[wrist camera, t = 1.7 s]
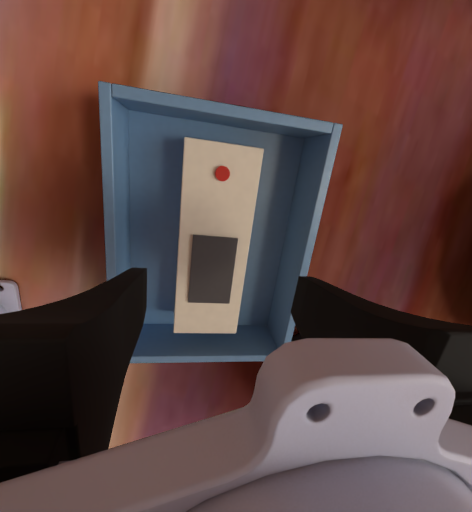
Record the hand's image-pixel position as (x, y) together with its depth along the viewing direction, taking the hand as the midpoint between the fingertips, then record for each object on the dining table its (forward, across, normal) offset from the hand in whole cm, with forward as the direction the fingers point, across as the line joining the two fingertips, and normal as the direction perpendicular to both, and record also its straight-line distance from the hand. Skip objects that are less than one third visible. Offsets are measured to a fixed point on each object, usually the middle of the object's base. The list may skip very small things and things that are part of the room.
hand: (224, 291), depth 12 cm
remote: (+9, 0, 0) cm, 9 cm away
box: (+9, 0, 0) cm, 9 cm away
